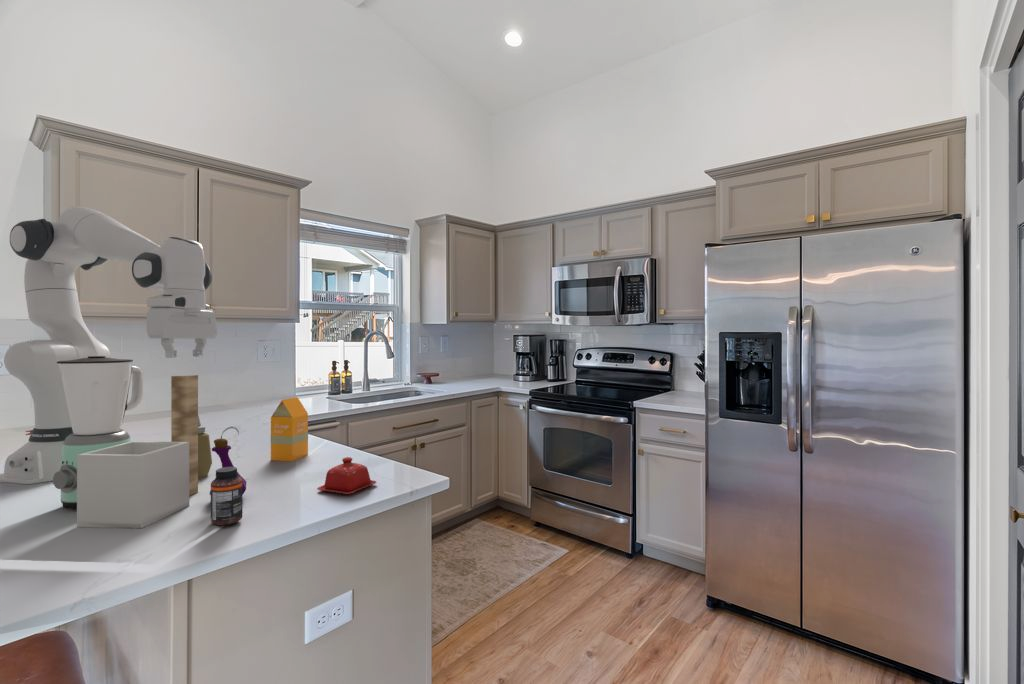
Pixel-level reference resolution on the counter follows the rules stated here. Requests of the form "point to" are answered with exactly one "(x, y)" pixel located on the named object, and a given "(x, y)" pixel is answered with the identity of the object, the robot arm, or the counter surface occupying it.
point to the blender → (94, 411)
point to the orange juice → (289, 431)
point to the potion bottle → (226, 455)
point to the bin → (132, 484)
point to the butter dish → (347, 478)
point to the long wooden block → (186, 420)
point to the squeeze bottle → (203, 452)
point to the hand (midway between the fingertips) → (184, 357)
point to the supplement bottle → (226, 497)
